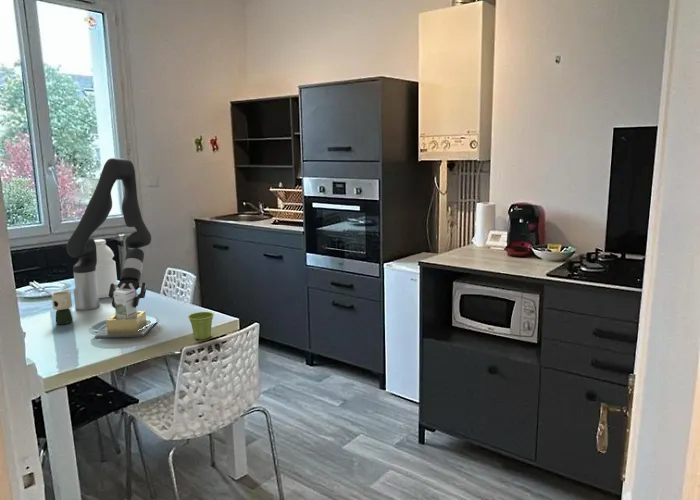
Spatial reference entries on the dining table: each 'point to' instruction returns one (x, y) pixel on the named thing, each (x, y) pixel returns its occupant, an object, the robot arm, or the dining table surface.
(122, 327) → the hitch plate
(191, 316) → the plant pot
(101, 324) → the dining table surface
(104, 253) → the bottle
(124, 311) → the syrup box
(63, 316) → the character mug
